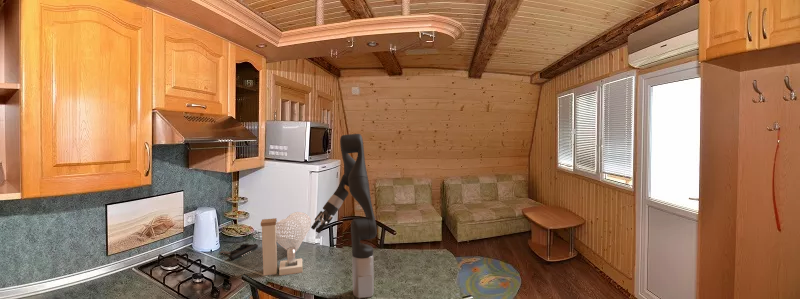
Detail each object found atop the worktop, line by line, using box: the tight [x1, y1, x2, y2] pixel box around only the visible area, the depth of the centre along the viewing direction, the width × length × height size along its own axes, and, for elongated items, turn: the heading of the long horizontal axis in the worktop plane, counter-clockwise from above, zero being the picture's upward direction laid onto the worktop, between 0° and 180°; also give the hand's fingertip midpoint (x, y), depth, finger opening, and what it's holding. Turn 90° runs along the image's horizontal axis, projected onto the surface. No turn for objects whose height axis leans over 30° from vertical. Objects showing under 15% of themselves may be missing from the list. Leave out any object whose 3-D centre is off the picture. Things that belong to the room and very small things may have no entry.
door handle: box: [219, 243, 259, 261], centre depth 186 cm, size 3×20×16 cm
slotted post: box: [260, 217, 304, 276], centre depth 161 cm, size 11×19×27 cm, turn 108°
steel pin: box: [286, 246, 296, 267], centre depth 163 cm, size 4×4×11 cm
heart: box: [276, 211, 312, 253], centre depth 185 cm, size 28×16×22 cm, turn 173°
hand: (314, 230), depth 167 cm, fingers open, 8 cm apart
